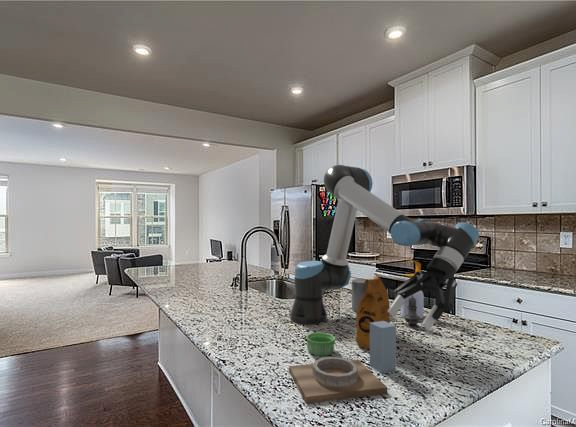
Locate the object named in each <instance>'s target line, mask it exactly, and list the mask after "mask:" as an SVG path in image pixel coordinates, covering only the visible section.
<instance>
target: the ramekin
mask: <svg viewBox="0 0 576 427" xmlns="http://www.w3.org/2000/svg"><path fill="white" fill-rule="evenodd" d="M305 339H306V342H307V351H308V353H310V354H311V355H312V356H313V355H314V356H320V357H327V356H330V355H332V354H333V353H334V350H335V341H336V337H335V336H334V335H333V334H330V333H327V332H311V333H309V334H307V335H306V337H305Z"/></svg>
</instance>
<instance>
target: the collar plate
mask: <svg viewBox="0 0 576 427" xmlns="http://www.w3.org/2000/svg"><path fill="white" fill-rule="evenodd" d="M288 367H289V369H288V373H289V375H290V376H291V378H292V381H293V382H294V384H295V386H296V388H297V389H298V392H299V393H300V395H301V397H302V398H303V401H304V403H305V405H306V404H308V405H309V404H315V403H323V402H331V401H332V402H333V401H339V400H348V399H355V398H356V399H357V398H365V397H373V396H381V395H388V386H387V385H386V384H385V383H384V382H382V381H381V380H380V379H379V378H378V377H377V376H376V375H375V374H374V373H373V372H372V371H371V370H370V369H369V368H368V367H367V366H365V364H363V363H362V362H361V361H360V360H359V359H351V360H350V359H347V358H343V357H338V356H328V357H327V356H324V357H321V358H318V359H316V360H314V362H313V363H309V364H298V365H297V364H296V365H288Z"/></svg>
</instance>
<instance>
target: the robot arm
mask: <svg viewBox="0 0 576 427" xmlns="http://www.w3.org/2000/svg"><path fill="white" fill-rule="evenodd" d="M323 183H324V184H323V185H324V187H325V190H327V192H329V194H331V195H332V196H334V197H335V198H336V199H337V205H336V209H335V214H334V219H333V223H332V227H331V232H330V237H329V240H328V246H327V251H326V253H325V254H324V255H322V256H321V261H320V260H310V261H309V260H307V261H302V262H298V263H297V264H296V265H295V268H294V274H293V275H294V301H293V303H292V304H293V305H292V308H291V310H290V314H289V316H290V317H289V318H290V321H292V322H294V323H297V324H302V325H318V324H319V325H320V324H323V323H325V322H327V321H328V315H327V314H328V313H327V311H326V307H325V304H324V300H323V297H324V292H326V291H333V290H340V289H342V288H344V287H346V286H347V285H348V284H349V283H350V280H351V278H352V273H351V272H352V271H351V269H350V265H349V261H348V259H347V255H348V251H349V247H350V242H351V238H352V234H353V229H354V226H355V220H356V216H357V213H358V212H360V213H362V214H363V215H364V216H365V217H367V218H368V219H370V220H371V221H372V222H373V223H376V224H377V225H378V226H379V227H380V228H382V229H383V230H384V231H386V232H387V233H389V234H390V237H391V239H392V241H393V243H395V244H396V245H399V246H403V247H411V246H422V245H430V246H432V247H433V246H434V247H437V248H439V249H438V250H437V251H436V253H435V254H434V256H433V258H432V259H431V260H430V261H429V263H428V264H427V266H426V272H425V273H422V272H421V273H420V272H419V271H417V272H416V271H415V272H416V273H415V272H414V273H413V274H414V276H413V277H411V278H408V279H407V280H405V282H403V283H402V284H400V285H398V287H397V288H395V289H394V292H395V293H396V294H397V295H396V297H395V298H394V300H393V301H392V304H391V305H390V308H389V309H388V313H389V314H390V317H392V318H395V317H396V315H397V314H398V312H399V311H400V310H401V306H402V305H403V304H404V302H405V298H407V297H409V296H411V295H413V294H415V293H417V292H419V291H427V290H428V291H432V292H434V294H435V299H436V304H433V306H432V307H431V309H430V310H429V311H428V313H427V315H426V316H425V318H424V319H423V321H422V322H421V325H422V326H423V328H425V330H426V331H428V332H429V331H431V329H432V327H433V326H434V324H435V322H437V321H438V320H440V318H441V317H442V315H443V314H444V312H446V311H449V312H453V311H454V306H455V293H456V289H457V286H458V283H457V281H456V280H455V278H454V276H455V275H456V273H457V272H458V270H459V269H460V267H461V265H462V264H463V263H464V261H465V259H466V258H467V256H468V255H469V254H470V252H471V251H472V249H473V248H474V247H475V245H476V242H477V241H478V239H479V238H480V232H479V231H478V230H479V229H477V228H476V227H475V226H474V225H473V224H471V223H469V222H466V221H465V222H457V223H456V224H455V225H454V226H449V225H444V224H442V223H437V222H435V221H431V220H429V219H423V218H417V219H415V220H413V219H412V218H410V217H408V216H407V215H405V214H404V213H403V212H401V211H399V210H397V209H396V208H394V206H392V205H390V204H389V203H387V202H386V201H384V200H382V199H381V198H379V197H378V196H376V195H375V194H373V193H372V192H371V191H372V188H373V184H374V183H373V178H372V175H371V174H370V173H369V172H368V170H367V169H364V168H360V167H357V166H348V165H344V164H336V165H333V166H331V167H330V168H328V169H327V170H326V172H325V173H324V176H323ZM444 287H445V291H444ZM444 292H445V295H444ZM403 294H404V295H403Z"/></svg>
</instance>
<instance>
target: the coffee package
mask: <svg viewBox="0 0 576 427" xmlns="http://www.w3.org/2000/svg"><path fill="white" fill-rule="evenodd" d="M365 279H366V281H365V282H364V283H365V284H368V288H367V290H366V293H365V296H364V297H363V298H362V299H361V301H360V303H359V305H358V309H357V312H355V313H356V336H355V337H356V338H355V342H356V345H357V346H358V347H360V348H364V349H367V350H370V323H372V322H379V321H386V322H388V323H390V322H391V315H390V314H389V313H388V309H389V308H390V307H391V305H390V298H389V293H388V291H387V289H386V286H385V285H384V283H383V281H382V279H381V277H380V276H379V275H375V276H374V278H372V279H371V278H370V279H369V278H365ZM390 324H391V323H390Z"/></svg>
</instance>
